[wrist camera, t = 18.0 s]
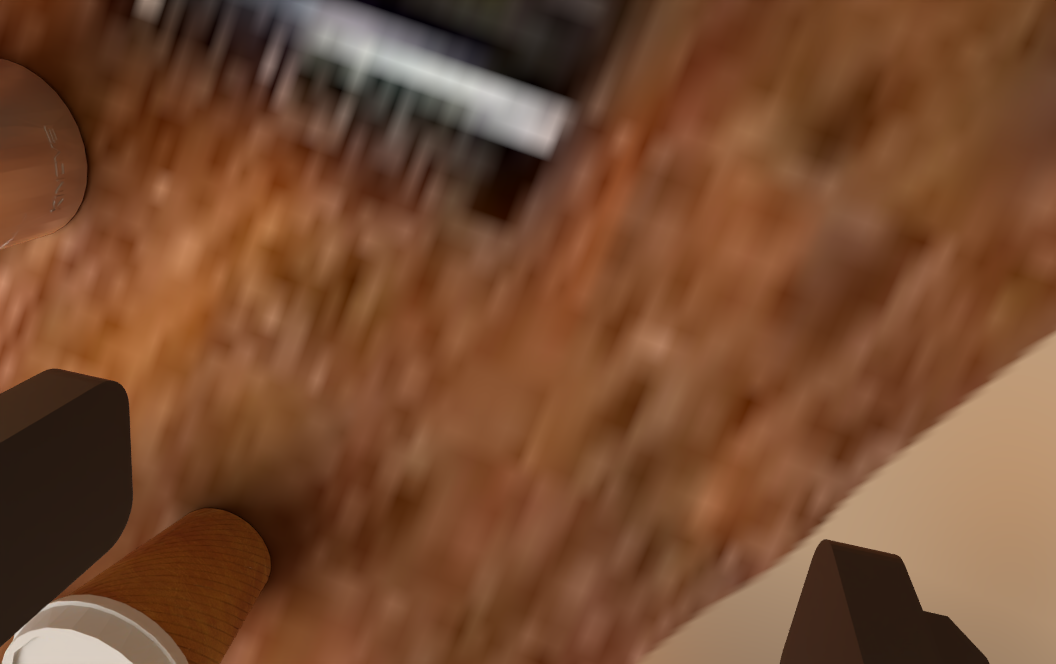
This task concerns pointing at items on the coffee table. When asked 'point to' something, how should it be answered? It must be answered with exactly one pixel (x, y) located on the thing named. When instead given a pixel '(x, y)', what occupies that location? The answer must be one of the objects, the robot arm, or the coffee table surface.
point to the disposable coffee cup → (157, 600)
